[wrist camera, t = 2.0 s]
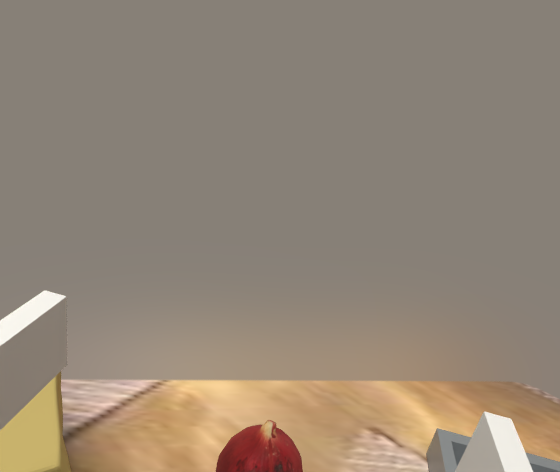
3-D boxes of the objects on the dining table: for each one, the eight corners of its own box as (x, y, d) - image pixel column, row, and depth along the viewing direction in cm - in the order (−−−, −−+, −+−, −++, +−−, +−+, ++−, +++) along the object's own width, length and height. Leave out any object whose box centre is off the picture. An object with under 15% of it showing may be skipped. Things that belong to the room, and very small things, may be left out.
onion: (305, 540, 29) (331, 456, 26) (222, 568, 26) (240, 479, 23) (274, 465, 34) (292, 387, 30) (201, 483, 31) (213, 400, 28)
